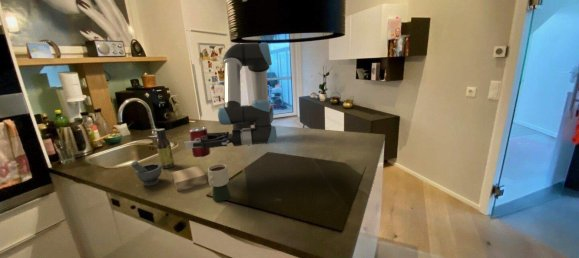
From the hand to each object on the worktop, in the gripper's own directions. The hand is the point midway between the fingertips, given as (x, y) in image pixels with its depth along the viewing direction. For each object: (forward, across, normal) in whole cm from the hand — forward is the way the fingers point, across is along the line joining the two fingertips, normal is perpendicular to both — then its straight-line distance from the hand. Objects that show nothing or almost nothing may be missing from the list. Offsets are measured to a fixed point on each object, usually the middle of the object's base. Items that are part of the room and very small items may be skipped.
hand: (187, 142), depth 102 cm
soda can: (-5, 0, -7) cm, 8 cm away
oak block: (+2, -1, -18) cm, 18 cm away
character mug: (-14, -19, -18) cm, 30 cm away
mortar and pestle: (+19, +2, -18) cm, 27 cm away
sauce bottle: (+17, +19, -18) cm, 32 cm away
